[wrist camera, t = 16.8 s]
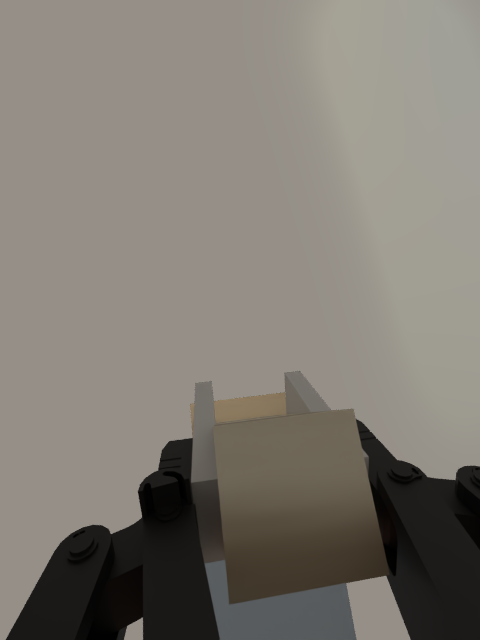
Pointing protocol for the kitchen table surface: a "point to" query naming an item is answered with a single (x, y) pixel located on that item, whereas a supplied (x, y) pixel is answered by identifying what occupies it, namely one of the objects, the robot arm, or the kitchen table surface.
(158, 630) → the robot arm
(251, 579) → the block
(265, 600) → the lidded box
